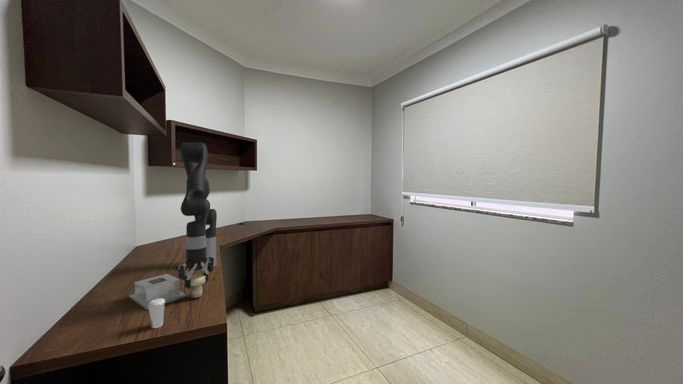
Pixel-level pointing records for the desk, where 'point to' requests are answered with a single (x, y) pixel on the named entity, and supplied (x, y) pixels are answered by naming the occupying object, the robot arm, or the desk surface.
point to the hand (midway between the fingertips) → (196, 285)
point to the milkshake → (156, 312)
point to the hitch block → (157, 290)
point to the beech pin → (197, 285)
